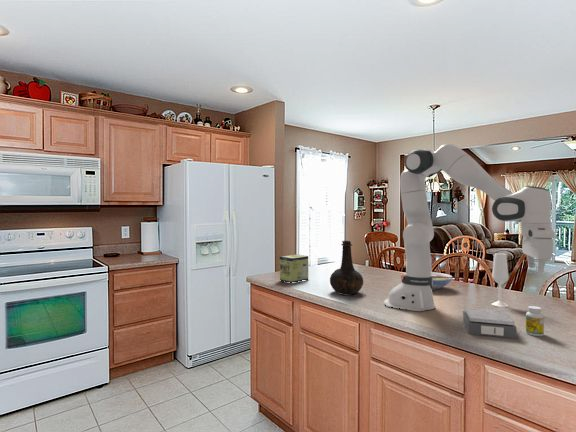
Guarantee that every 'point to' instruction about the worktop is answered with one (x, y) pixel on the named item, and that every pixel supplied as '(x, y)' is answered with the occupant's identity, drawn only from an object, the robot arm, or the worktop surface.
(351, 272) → the glass bottle
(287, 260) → the protein box
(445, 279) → the ramen bowl
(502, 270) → the champagne flute
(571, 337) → the worktop surface
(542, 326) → the supplement bottle
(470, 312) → the scale pan
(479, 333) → the scale base
